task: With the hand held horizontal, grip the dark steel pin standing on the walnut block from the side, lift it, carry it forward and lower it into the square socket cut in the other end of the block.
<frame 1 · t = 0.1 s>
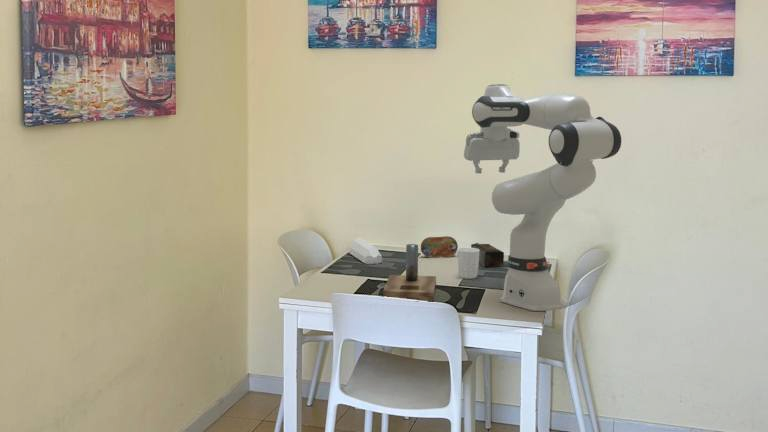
hand: (490, 172, 293), 39 cm above the table, tool pointing down, fingers open, 8 cm apart
white cup: (467, 277, 310), on the table
pin: (411, 280, 291), point 3 cm above the table, touching socket block
socket block: (409, 296, 280), on the table
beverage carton: (486, 263, 336), on the table
white rounded block: (365, 259, 341), on the table
tin: (438, 257, 346), on the table
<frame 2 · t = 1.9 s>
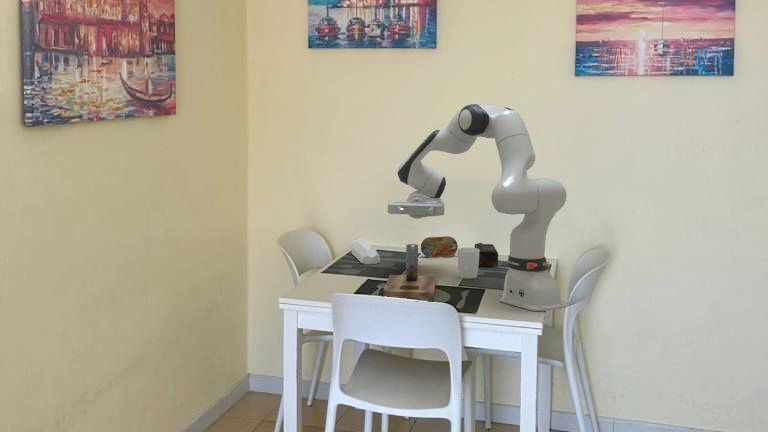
hand: (414, 211, 299), 25 cm above the table, tool horizontal, fingers open, 8 cm apart
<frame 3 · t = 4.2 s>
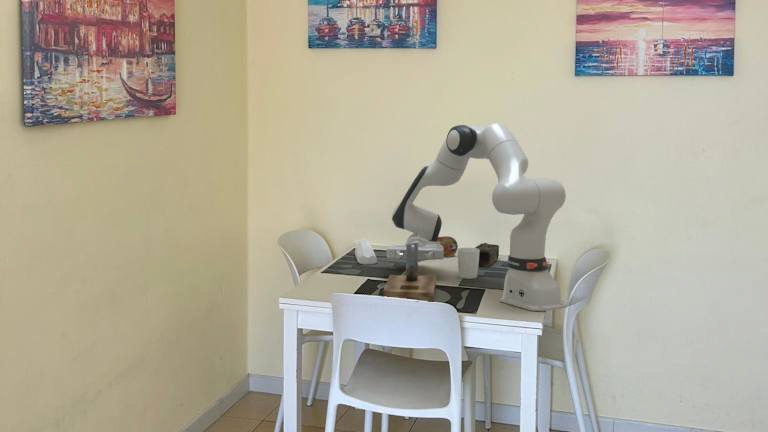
hand: (414, 256, 298), 9 cm above the table, tool horizontal, fingers open, 8 cm apart
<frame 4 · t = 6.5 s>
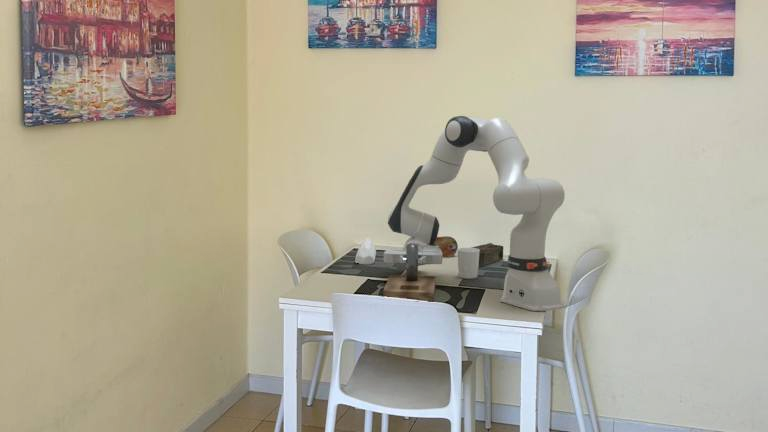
hand: (411, 261, 289), 10 cm above the table, tool horizontal, fingers closed on pin, 4 cm apart
pin: (411, 280, 291), point 3 cm above the table, touching gripper, socket block
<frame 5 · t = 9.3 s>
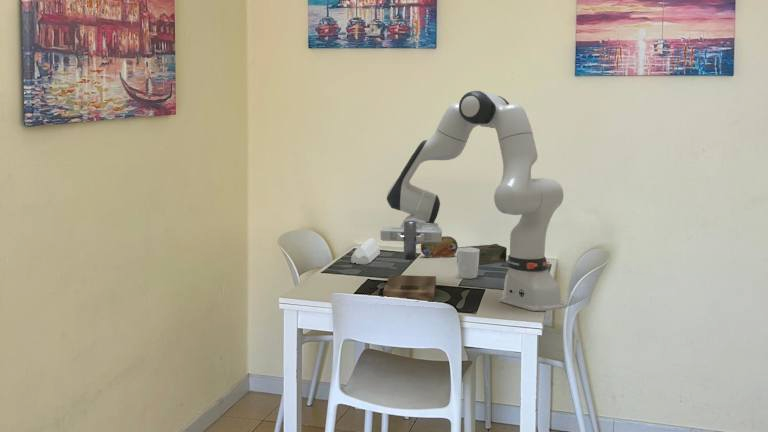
hand: (409, 238, 277), 19 cm above the table, tool horizontal, fingers closed on pin, 4 cm apart
pin: (409, 258, 279), point 13 cm above the table, touching gripper
when the fingers open (8 cm above the table, at t = 12.1 s): pin drops 1 cm, resting in socket block.
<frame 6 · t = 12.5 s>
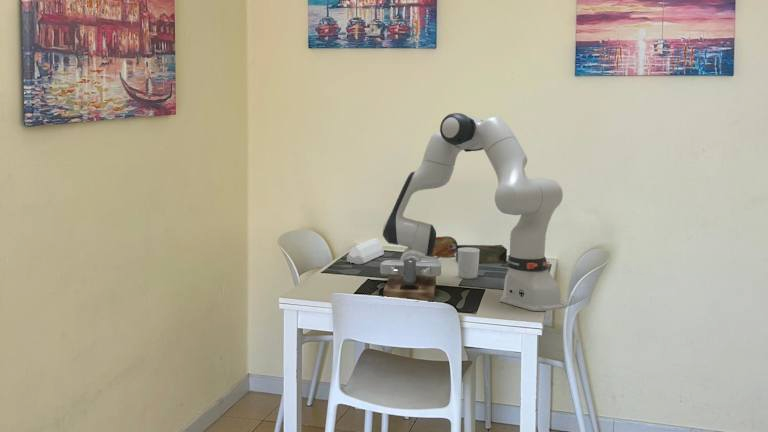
hand: (409, 273, 278), 8 cm above the table, tool horizontal, fingers open, 8 cm apart
pin: (409, 296, 280), resting in socket block
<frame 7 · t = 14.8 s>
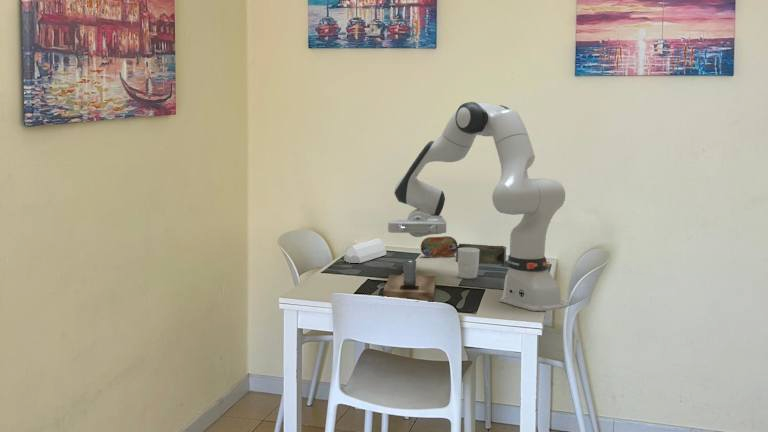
hand: (416, 229, 292), 20 cm above the table, tool horizontal, fingers open, 8 cm apart
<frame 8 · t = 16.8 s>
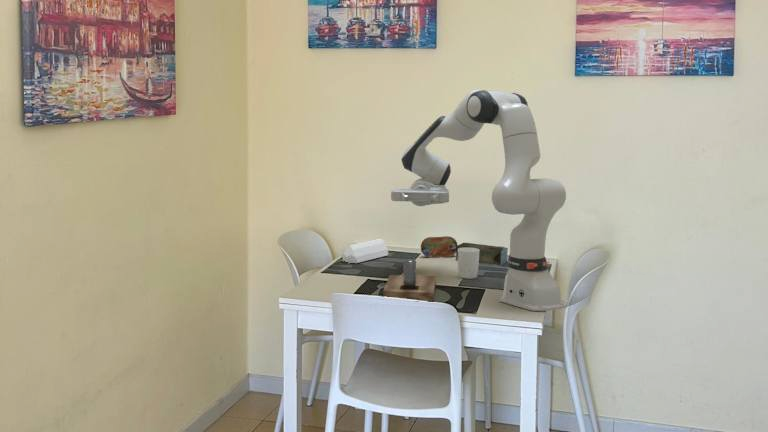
hand: (419, 198, 293), 30 cm above the table, tool horizontal, fingers open, 8 cm apart
at the end: pin 0.0 cm off-centre on the socket block, point 0.0 cm above the socket block's base; pin tilted 0°; the gripper is holding nothing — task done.
